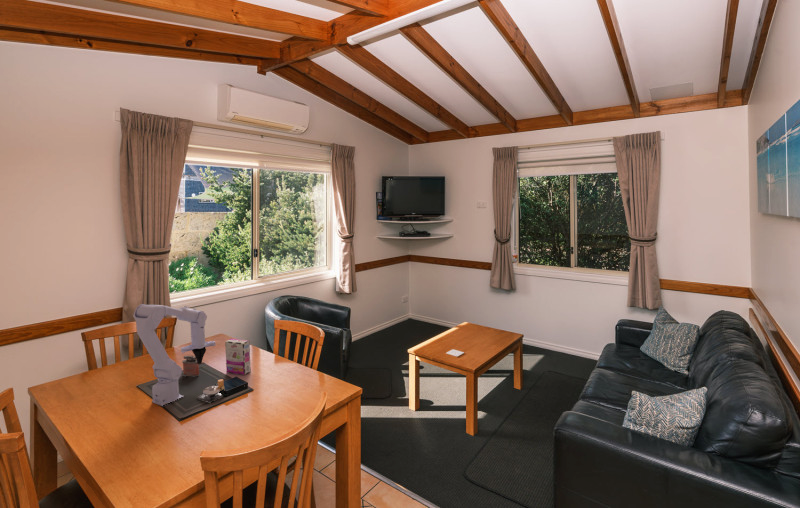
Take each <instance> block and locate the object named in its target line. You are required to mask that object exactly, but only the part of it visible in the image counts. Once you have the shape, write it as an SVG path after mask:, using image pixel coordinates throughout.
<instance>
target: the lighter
mask: <svg viewBox="0 0 800 508" xmlns="http://www.w3.org/2000/svg"><path fill="white" fill-rule="evenodd" d="M181 363H182V373H183V374H182V375H186V376H198V375H199V374H200V366H199V365H200V364H198V363H197V360H196V357H195V355H194V356H193V355H184V356H183V360H182V362H181ZM200 375H201V374H200ZM186 376H185V377H186ZM198 377H199V376H198Z"/></svg>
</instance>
